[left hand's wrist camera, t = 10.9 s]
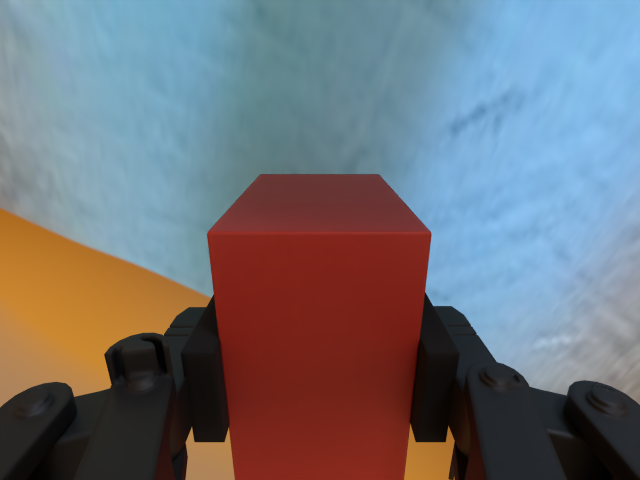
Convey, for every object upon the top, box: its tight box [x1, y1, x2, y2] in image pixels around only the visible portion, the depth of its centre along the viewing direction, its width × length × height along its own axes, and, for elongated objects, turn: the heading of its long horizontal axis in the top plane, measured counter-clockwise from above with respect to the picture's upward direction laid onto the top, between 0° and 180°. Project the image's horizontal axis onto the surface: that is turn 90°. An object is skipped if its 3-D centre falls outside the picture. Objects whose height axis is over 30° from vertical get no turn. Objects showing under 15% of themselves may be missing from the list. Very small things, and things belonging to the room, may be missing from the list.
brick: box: [207, 174, 431, 480], centre depth 13 cm, size 5×8×7 cm, turn 0°
